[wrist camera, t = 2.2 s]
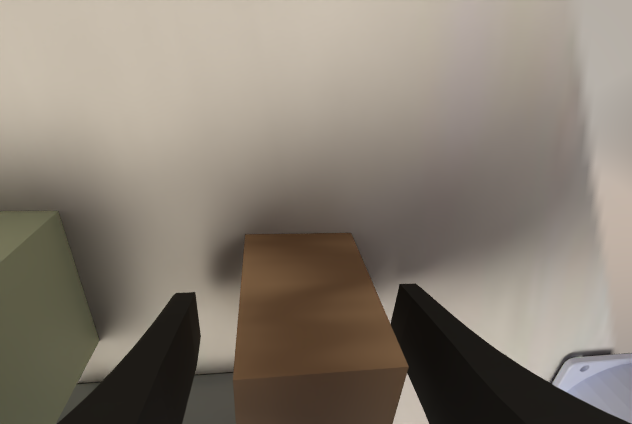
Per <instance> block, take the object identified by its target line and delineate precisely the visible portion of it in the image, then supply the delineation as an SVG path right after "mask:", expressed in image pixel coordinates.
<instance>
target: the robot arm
mask: <svg viewBox="0 0 632 424" xmlns="http://www.w3.org/2000/svg"><path fill="white" fill-rule="evenodd" d="M391 327H392V329H393V331H394V334H395V336H396V338H397V341H398V343H399V345H400V348H401V350H402V352H403V355H404V357H405V359H406V362H407V364H408V366H409V368H408V371H407V373H408V375H409V378H410V380H411V382H412V384H413V387H414V389H415V391H416V394H417V396H418V398H419V400H420V403H421V405H422V407H423V409H424V412H425V414H426V417H427V419H428V422H429V424H632V353H624V354H612V355H599V356H586V357H574V358H570V359H568V360H567V361H566V362H565V363H564V364H563V366H562V368H561V369H560V371H559V373H558V374H557V376H556V378H555V379H554V381H553V383H552V384H551V383H549V382H547V381H546V380H544V379H542V378H541V377H539V376H537V375H535V374H534V373H532V372H530V371H529V370H527V369H526V368H524V367H522V366H521V365H519V364H518V363H516V362H515V361H513V360H512V359H510V358H509V357H507V356H506V355H504V354H503V353H501V352H500V351H498V350H497V349H495V348H494V347H493V346H491V345H490V344H489V343H487V342H486V341H485V340H483V339H482V338H481V337H479V336H478V335H477V334H475V333H474V332H473V331H471V330H470V329H469V328H468V327H466V326H465V325H464V324H463V323H462V322H460V321H459V320H458V319H457V318H455V317H454V316H453V315H452V314H451V313H450V312H448V311H447V310H446V309H445V308H444V307H443V306H441V305H440V304H439V303H438V302H437V301H436V300H434V299H433V298H432V297H431V296H430V295H429V294H428V293H426V292H425V291H424V290H423V289H422V288H420V287H419V286H418V285H417V284H400V286H399V290H398V294H397V298H396V303H395V307H394V311H393V316H392V320H391ZM200 337H201V335H200V327H199V319H198V311H197V303H196V295H195V292H191V293H176V294H175V295H173V297H172V298H171V299H170V301H169V302H168V304H167V305H166V306H165V308H164V309H163V310H162V312H161V313H160V315H159V316H158V317H157V318H156V320H155V321H154V322H153V324H152V325H151V326H150V328H149V329H148V330H147V331H146V332H145V334H144V335H143V336H142V337H141V339H140V340H139V341H138V342H137V344H136V345H135V346H134V347H133V348H132V349H131V350H130V352H129V353H128V354H127V355H126V356H125V357H124V358H123V359H122V361H121V362H120V363H119V364H118V365H117V366H116V367H115V368H114V369H113V371H112V372H111V373H110V374H109V375H108V376H107V377H106V378H105V379H104V380H103V381H102V382H101V383H100V384H99V385H98V386H97V387H96V388H95V389H94V390H93V391H92V392H91V393H90V394H89V395H88V396H87V397H86V398H85V399H84V400H83V401H81V402H80V403H79V404H78V405H77V406H76V407H75V408H74V409H73V410H72V411H70V412H69V413H68V414H67V415H66V416H65V417H64V418H63V419H62V420H60V421H59V422H58V423H57V424H182V423H183V419H184V415H185V411H186V407H187V403H188V399H189V395H190V391H191V387H192V383H193V379H194V375H195V371H196V367H197V360H198V353H199V345H200Z"/></svg>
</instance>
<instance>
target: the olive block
mask: <svg viewBox="0 0 632 424" xmlns="http://www.w3.org/2000/svg"><path fill="white" fill-rule="evenodd" d="M98 342H99V338H98V335H97V332H96V329H95V326H94V322H93V319H92V316H91V313H90V310H89V307H88V304H87V300H86V297H85V294H84V291H83V288H82V285H81V282H80V279H79V275H78V272H77V269H76V266H75V263H74V260H73V257H72V253H71V250H70V247H69V244H68V241H67V238H66V235H65V231H64V228H63V225H62V222H61V219H60V216H59V213H58V211H0V424H56V423H57V421H58V419H59V417H60V415H61V413H62V411H63V409H64V407H65V405H66V403H67V402H68V400H69V398H70V396H71V394H72V392H73V390H74V388H75V386H76V384H77V382H78V380H79V379H80V377H81V375H82V373H83V371H84V369H85V367H86V365H87V363H88V361H89V359H90V358H91V356H92V354H93V352H94V350H95V348H96V346H97V344H98Z"/></svg>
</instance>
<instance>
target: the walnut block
mask: <svg viewBox="0 0 632 424" xmlns="http://www.w3.org/2000/svg"><path fill="white" fill-rule="evenodd" d="M408 368H409V366H408V364H407V362H406V359H405V357H404V355H403V352H402V350H401V348H400V345H399V343H398V341H397V338H396V336H395V334H394V331H393V329H392V327H391V324H390V322H389V320H388V318H387V315H386V313H385V311H384V308H383V306H382V304H381V301H380V299H379V297H378V294H377V292H376V290H375V287H374V285H373V283H372V281H371V278H370V276H369V274H368V271H367V269H366V267H365V264H364V262H363V260H362V257H361V255H360V253H359V250H358V248H357V246H356V243H355V241H354V239H353V237H352V234H351V233H313V234H245V244H244V256H243V267H242V279H241V291H240V303H239V314H238V326H237V338H236V349H235V361H234V373H233V389H234V404H235V418H236V424H392V423H393V420H394V416H395V413H396V409H397V406H398V402H399V399H400V395H401V392H402V388H403V385H404V382H405V378H406V375H407V371H408Z"/></svg>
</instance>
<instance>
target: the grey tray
mask: <svg viewBox="0 0 632 424" xmlns="http://www.w3.org/2000/svg"><path fill="white" fill-rule="evenodd" d="M99 384H100V383H87V384H76V386H75V388H74V390H73V392H72V394H71V396H70V398H69V400H68V402H67V403H66V405H65V407H64V409H63V411H62V413H61V415H60V417H59V419H58V421H57V423H58V422H59V421H60V420H62V419H63V418H64V417H65V416H66V415H67V414H68V413H69V412H70V411H72V410H73V409H74V408H75V407H76V406H77V405H78V404H79V403H80V402H81V401H83V400H84V399H85V398H86V397H87V396H88V395H89V394H90V393H91V392H92V391H93V390H94V389H95V388H96V387H97V386H98V385H99ZM57 423H56V424H57ZM182 424H236V418H235V404H234V389H233V373H223V374H209V375H195V376H194V379H193V383H192V387H191V391H190V395H189V399H188V403H187V407H186V411H185V415H184V419H183V423H182Z"/></svg>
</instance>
